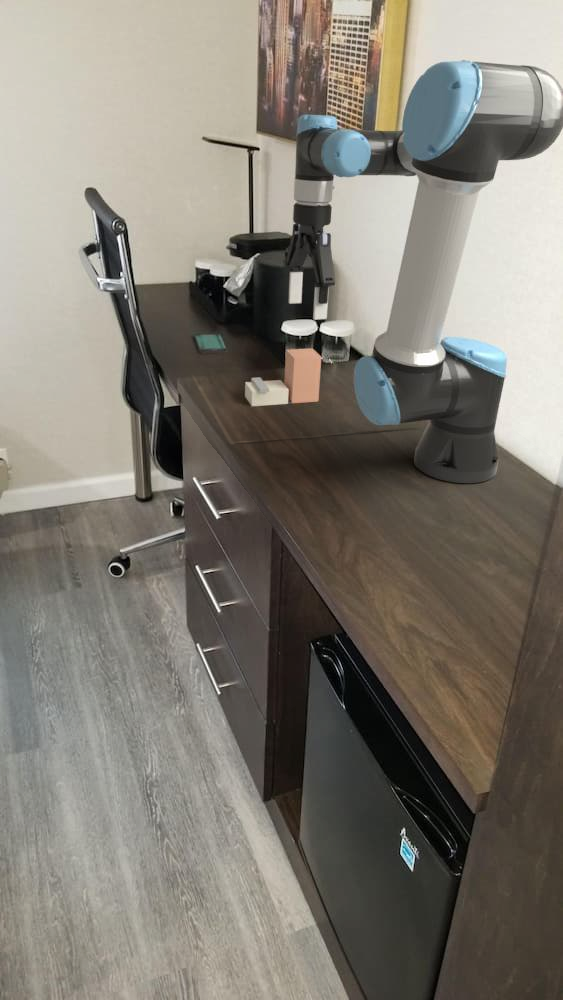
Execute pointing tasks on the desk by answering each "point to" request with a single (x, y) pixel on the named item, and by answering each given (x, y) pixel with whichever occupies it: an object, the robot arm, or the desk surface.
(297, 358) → the stub
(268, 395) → the cream block
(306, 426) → the desk surface
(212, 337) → the smartphone
